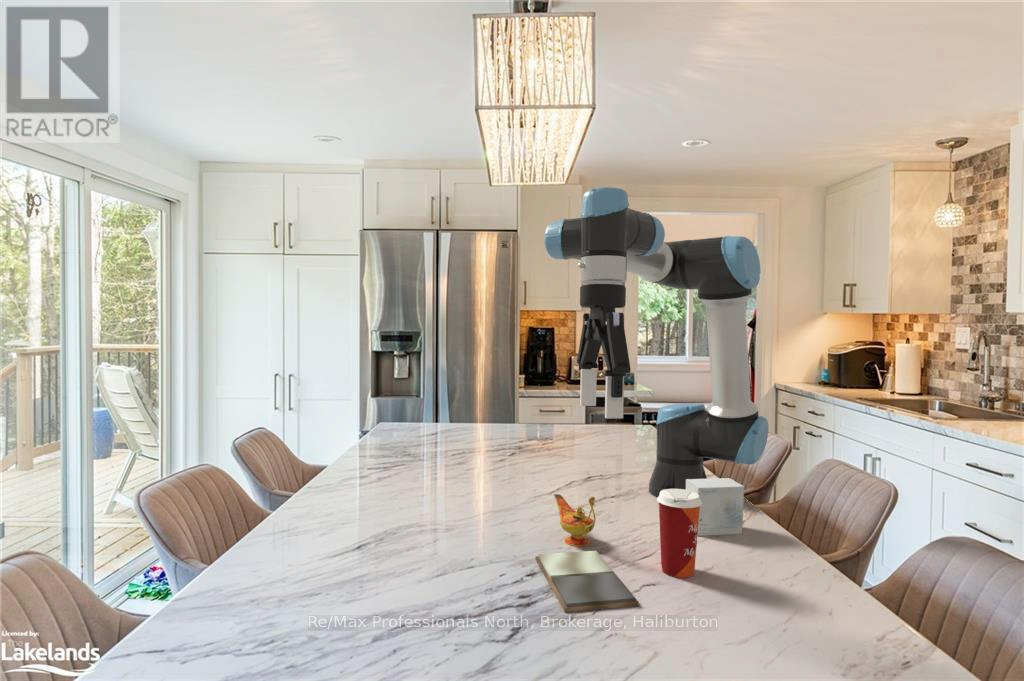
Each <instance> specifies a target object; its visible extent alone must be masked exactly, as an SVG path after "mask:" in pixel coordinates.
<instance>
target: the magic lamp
mask: <svg viewBox="0 0 1024 681" xmlns="http://www.w3.org/2000/svg"><path fill="white" fill-rule="evenodd" d="M553 496H554V499H555V502H556V506H557V509H558V514H559V520H560V521H559V524H560V526H561V528H562V529H563V531H565V532H566V533H568V534H570V536H567V537H566V538H565V539H564V543H565V544H567V545H568V546H571V547H585V546H588V545H590V544H591V543H590V542H591V541H590V540H589V537H590V534H589V533H591V532H592V531H593V530H594V527H595V524H596V513H595V510H594V506H595V500H596V498H595V497H594V496H590V498H588V499H587V500H588V503H589V505H590V510H589V513H588V515H585V514H586V512H585V510H584V509H583V507H582V506H580V505H579V506H578V507H577V509H576V510H574V509H573V508H572V507H571V506H570V504H569V503H568V502H567V500H566V499H565V497H563V496H562V494H558V493H557V494H553ZM591 514H592V515H593V516H592V517H593V518H591ZM584 535H585V536H584Z"/></svg>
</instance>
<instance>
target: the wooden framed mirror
mask: <svg viewBox="0 0 1024 681" xmlns="http://www.w3.org/2000/svg"><path fill="white" fill-rule="evenodd" d="M535 561H536V563H537V564H538V566H539V568H540V570H541V573H543V575H544V577H545V579H546V581H547V583H548V585H549V587H550V588H551V590H552V592H553V593H554V596H555V597H556V599H557V600H558V603H559V605H560V606H561V608H562V610H563V611H564V613H570V612H580V611H581V612H582V611H591V610H592V611H593V610H595V611H596V610H603V609H605V610H606V609H616V608H617V609H618V608H619V609H620V608H628V607H629V608H630V607H638V606H639V603H640V602H639V600H637V598H636V597H635V595H633V593H632V592H631V591H630V589H628V587H627V586H626V585H625V584H624V582H623V581H622V580H621V579H620V577H618V575H617V574H616V573H615V572H614V571H613V569H612V568H611V567H610V565H608V563H607V562H606V561H605V559H604V558H603V557H602V555H600V554H599V552H598V551H597V550H586V551H585V550H583V551H572V552H571V551H570V552H569V551H568V552H555V553H553V552H552V553H541V554H537V555H536V556H535Z"/></svg>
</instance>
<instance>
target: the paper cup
mask: <svg viewBox="0 0 1024 681" xmlns="http://www.w3.org/2000/svg"><path fill="white" fill-rule="evenodd" d="M656 502H658V512H659V514H658V515H659V516H658V517H659V540H660V562H661V572H662V573H664V574H665V575H667V576H669V577H672V578H678V579H687V578H690V577H692V576H694V574H695V568H696V556H697V548H698V547H697V545H698V536H697V535H698V523H699V511H700V506H701V505H702V502H701V500H700V497H699V495H698V494H697V493H695V492H693V491H689V490H684V489H665V490H662V491H661V492H660V494H659V497H657V498H656Z"/></svg>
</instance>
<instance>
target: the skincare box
mask: <svg viewBox="0 0 1024 681" xmlns="http://www.w3.org/2000/svg"><path fill="white" fill-rule="evenodd" d="M686 490H689V491H693V492H695V493H697V494H698V495H699V497H700V500H701V502H702V505H701V506H700V511H699V523H698V535H697V537H700V536H701V537H702V536H703V537H704V536H726V535H730V536H731V535H742V534H743V524H744V523H743V522H744V520H743V518H744V496H745V486H744V485H743V484H741V483H739V482H737V481H735V480H733V479H732V478H729V477H722V478H720V477H719V478H707V479H686Z"/></svg>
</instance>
